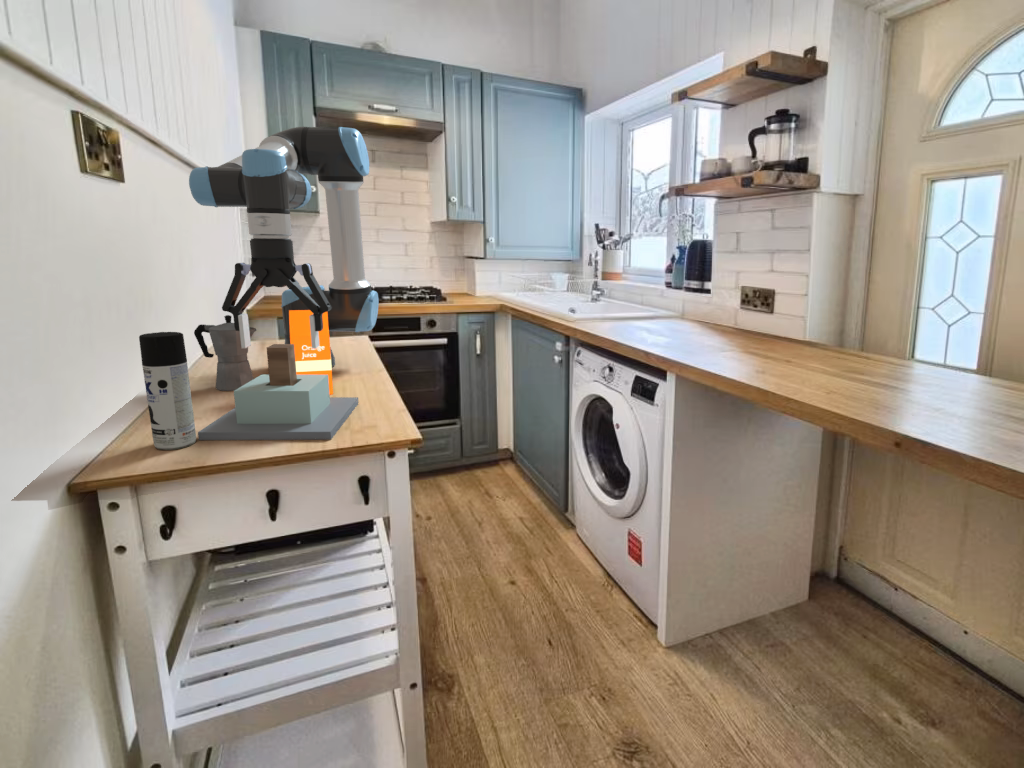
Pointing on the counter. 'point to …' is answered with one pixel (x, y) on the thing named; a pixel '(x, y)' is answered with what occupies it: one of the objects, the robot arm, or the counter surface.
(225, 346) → the coffeepot
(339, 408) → the socket block
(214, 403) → the counter surface
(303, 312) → the orange juice
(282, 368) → the peg
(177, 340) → the spray can
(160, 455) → the counter surface
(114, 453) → the counter surface
